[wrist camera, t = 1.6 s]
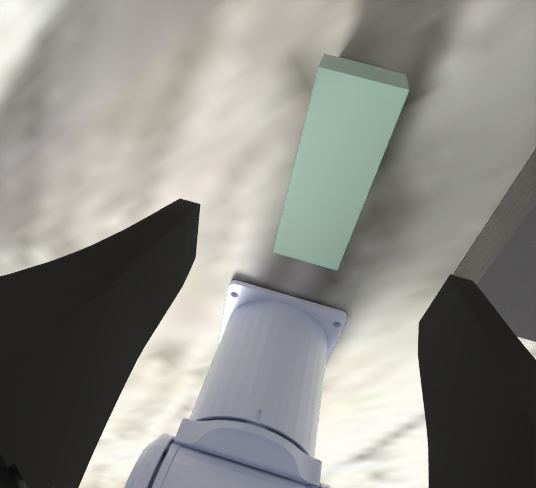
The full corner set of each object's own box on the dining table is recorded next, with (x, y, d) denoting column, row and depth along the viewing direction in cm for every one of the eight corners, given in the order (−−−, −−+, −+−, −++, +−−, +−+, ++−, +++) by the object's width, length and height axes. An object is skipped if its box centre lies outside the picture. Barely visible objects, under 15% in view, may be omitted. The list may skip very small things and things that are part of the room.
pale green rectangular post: (344, 211, 22) (337, 270, 18) (290, 197, 22) (272, 252, 18) (401, 56, 17) (409, 89, 13) (331, 38, 17) (318, 66, 13)
